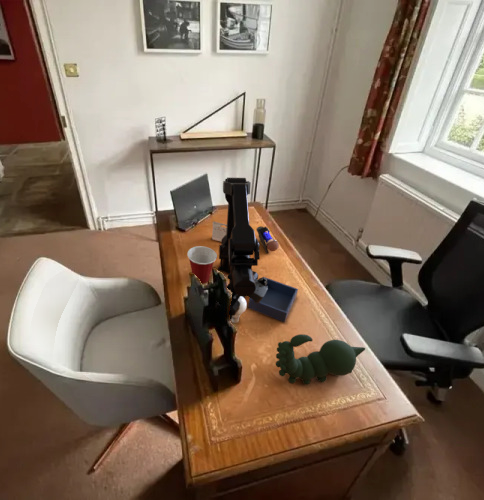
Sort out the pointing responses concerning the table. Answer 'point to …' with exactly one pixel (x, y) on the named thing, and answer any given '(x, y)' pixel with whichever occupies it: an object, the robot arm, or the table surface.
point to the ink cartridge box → (218, 231)
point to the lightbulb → (241, 309)
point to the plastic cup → (202, 262)
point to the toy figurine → (316, 359)
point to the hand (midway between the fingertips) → (236, 309)
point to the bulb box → (275, 300)
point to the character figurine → (267, 239)
